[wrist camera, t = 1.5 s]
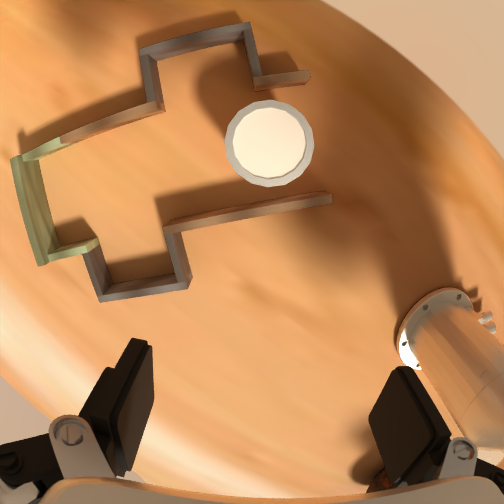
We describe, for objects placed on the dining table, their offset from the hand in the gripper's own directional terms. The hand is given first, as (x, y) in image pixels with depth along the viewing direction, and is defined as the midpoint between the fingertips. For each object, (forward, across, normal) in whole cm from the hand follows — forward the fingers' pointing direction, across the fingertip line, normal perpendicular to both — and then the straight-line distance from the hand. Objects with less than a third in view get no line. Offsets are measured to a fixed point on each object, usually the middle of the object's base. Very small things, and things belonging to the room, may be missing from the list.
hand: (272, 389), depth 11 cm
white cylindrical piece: (+22, +1, -9) cm, 24 cm away
